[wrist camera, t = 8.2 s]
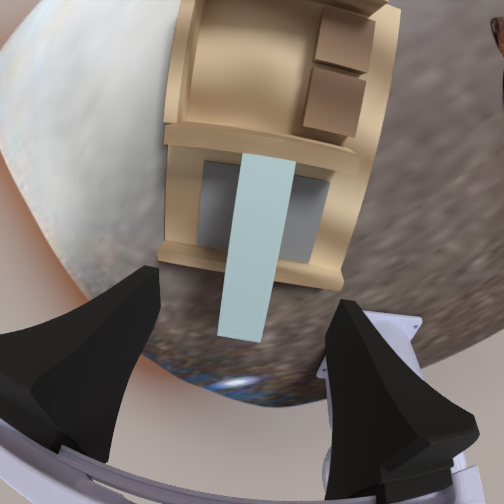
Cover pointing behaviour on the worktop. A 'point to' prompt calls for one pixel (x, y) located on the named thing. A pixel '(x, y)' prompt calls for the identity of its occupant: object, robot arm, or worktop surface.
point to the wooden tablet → (499, 34)
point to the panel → (254, 244)
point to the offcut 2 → (333, 102)
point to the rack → (267, 118)
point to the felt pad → (223, 202)
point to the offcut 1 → (344, 41)
